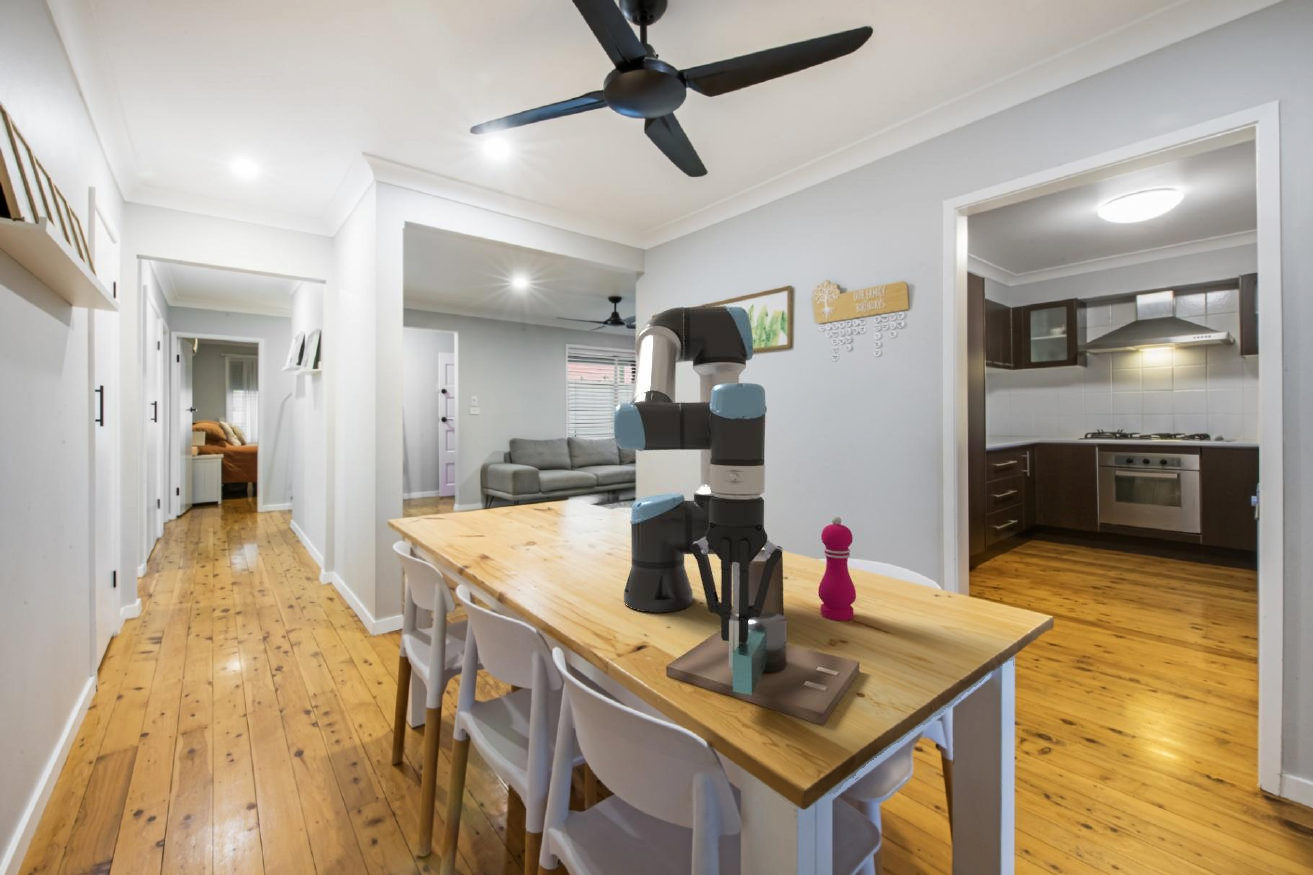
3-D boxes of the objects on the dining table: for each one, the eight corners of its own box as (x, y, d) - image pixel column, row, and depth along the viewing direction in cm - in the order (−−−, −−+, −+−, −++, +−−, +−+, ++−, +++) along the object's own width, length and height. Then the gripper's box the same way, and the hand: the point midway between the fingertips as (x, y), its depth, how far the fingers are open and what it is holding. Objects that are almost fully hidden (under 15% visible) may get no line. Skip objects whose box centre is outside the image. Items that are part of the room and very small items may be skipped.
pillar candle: (791, 622, 102) (790, 545, 102) (772, 639, 94) (771, 555, 94) (745, 614, 107) (744, 541, 107) (723, 628, 99) (722, 549, 99)
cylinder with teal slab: (716, 697, 70) (716, 647, 70) (746, 649, 85) (746, 608, 85) (769, 707, 67) (768, 656, 67) (790, 656, 83) (790, 614, 82)
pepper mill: (849, 624, 101) (849, 520, 101) (813, 616, 105) (812, 517, 105) (860, 614, 107) (860, 515, 106) (825, 607, 111) (825, 512, 111)
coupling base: (666, 675, 80) (666, 664, 80) (721, 637, 95) (721, 628, 95) (823, 725, 67) (822, 712, 66) (859, 671, 81) (859, 660, 81)
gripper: (685, 496, 71) (683, 669, 71) (783, 500, 67) (781, 682, 68) (695, 490, 78) (694, 647, 78) (784, 493, 75) (782, 658, 75)
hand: (734, 663), depth 73 cm, fingers closed
